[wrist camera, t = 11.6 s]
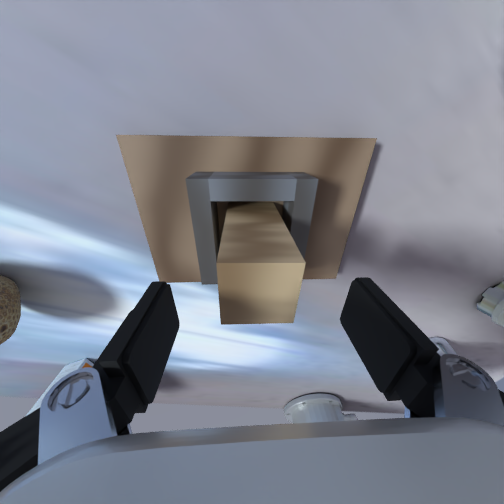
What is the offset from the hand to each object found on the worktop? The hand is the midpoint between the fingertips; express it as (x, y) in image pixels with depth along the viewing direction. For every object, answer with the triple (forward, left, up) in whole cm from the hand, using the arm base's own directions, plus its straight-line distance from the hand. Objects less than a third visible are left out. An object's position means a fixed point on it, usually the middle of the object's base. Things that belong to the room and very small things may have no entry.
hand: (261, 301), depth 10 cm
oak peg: (0, -1, -10) cm, 10 cm away
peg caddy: (0, -1, -11) cm, 11 cm away
